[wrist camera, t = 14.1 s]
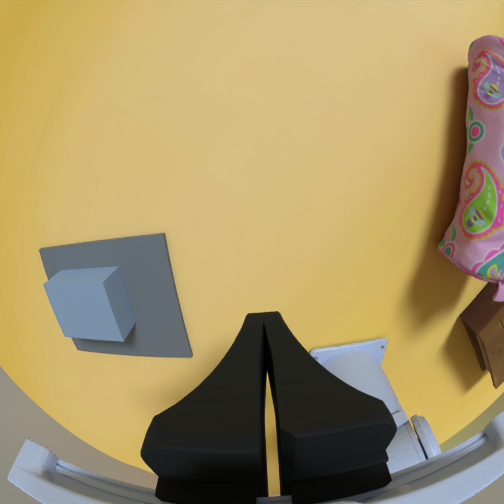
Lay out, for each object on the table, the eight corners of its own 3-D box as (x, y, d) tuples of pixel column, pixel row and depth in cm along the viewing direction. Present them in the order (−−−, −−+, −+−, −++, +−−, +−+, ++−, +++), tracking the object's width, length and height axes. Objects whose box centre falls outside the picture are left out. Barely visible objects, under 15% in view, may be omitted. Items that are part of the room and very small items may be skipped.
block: (123, 341, 20) (63, 336, 20) (135, 321, 22) (77, 319, 23) (102, 282, 18) (41, 284, 18) (119, 266, 20) (59, 270, 21)
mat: (192, 354, 24) (192, 357, 24) (79, 347, 25) (77, 349, 24) (164, 233, 20) (163, 234, 20) (41, 248, 20) (38, 249, 20)
